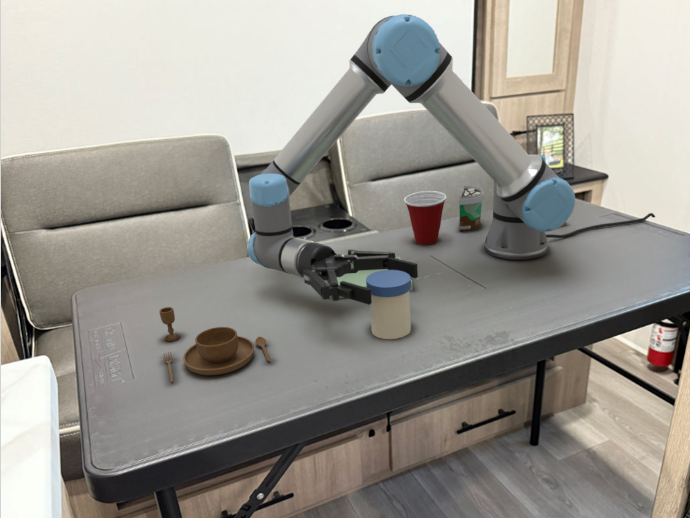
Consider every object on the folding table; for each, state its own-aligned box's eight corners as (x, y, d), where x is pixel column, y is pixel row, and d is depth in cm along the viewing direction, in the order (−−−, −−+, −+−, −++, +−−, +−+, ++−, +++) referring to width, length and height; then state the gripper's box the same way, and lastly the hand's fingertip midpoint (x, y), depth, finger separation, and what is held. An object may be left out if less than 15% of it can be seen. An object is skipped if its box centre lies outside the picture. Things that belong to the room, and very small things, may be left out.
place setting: (169, 390, 97) (161, 359, 95) (160, 337, 114) (154, 309, 111) (276, 364, 103) (272, 334, 101) (253, 317, 120) (249, 290, 117)
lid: (357, 292, 108) (356, 282, 108) (381, 276, 115) (381, 266, 114) (396, 300, 104) (396, 290, 104) (419, 283, 111) (418, 274, 110)
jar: (406, 318, 117) (405, 270, 113) (414, 336, 110) (413, 286, 106) (369, 323, 116) (365, 274, 112) (374, 341, 109) (371, 290, 105)
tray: (400, 265, 142) (399, 256, 141) (412, 290, 129) (412, 281, 128) (328, 272, 140) (327, 264, 139) (333, 299, 126) (332, 290, 126)
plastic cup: (396, 242, 157) (394, 197, 152) (423, 231, 164) (422, 188, 159) (428, 251, 150) (427, 204, 145) (455, 240, 157) (455, 194, 152)
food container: (482, 234, 160) (482, 197, 156) (459, 233, 161) (459, 197, 157) (485, 220, 171) (486, 185, 167) (463, 219, 172) (464, 185, 168)
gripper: (352, 258, 131) (433, 279, 119) (264, 299, 113) (349, 329, 101) (350, 225, 127) (433, 243, 116) (259, 262, 110) (346, 288, 98)
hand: (394, 283), depth 108 cm, fingers open, 13 cm apart
